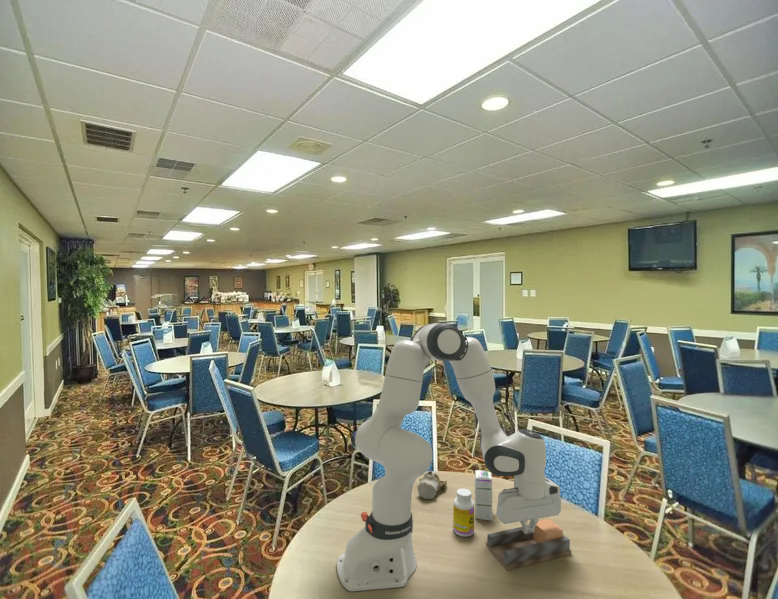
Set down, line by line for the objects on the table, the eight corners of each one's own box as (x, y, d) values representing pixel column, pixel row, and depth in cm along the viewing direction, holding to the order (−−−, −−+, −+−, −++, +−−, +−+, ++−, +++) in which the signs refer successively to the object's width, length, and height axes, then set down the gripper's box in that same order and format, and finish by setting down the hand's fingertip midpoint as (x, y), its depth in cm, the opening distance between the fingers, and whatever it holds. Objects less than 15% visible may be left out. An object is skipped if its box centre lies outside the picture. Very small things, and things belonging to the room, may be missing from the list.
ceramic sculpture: (411, 475, 144) (423, 461, 158) (410, 499, 144) (422, 483, 158) (439, 481, 140) (448, 466, 154) (438, 505, 140) (448, 488, 154)
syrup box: (492, 521, 131) (493, 478, 130) (474, 518, 132) (475, 476, 132) (491, 511, 136) (491, 470, 136) (474, 509, 138) (474, 469, 137)
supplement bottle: (470, 540, 121) (471, 499, 120) (450, 534, 124) (450, 494, 123) (476, 528, 126) (476, 489, 126) (456, 523, 130) (457, 485, 129)
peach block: (546, 550, 114) (546, 533, 114) (532, 537, 120) (532, 522, 120) (562, 546, 116) (562, 529, 116) (548, 534, 122) (548, 518, 122)
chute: (507, 570, 107) (507, 556, 107) (486, 545, 118) (486, 532, 118) (571, 554, 114) (571, 540, 114) (545, 532, 125) (545, 520, 125)
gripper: (504, 495, 109) (503, 544, 109) (565, 487, 115) (564, 533, 115) (492, 484, 115) (491, 531, 115) (550, 477, 121) (549, 521, 121)
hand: (528, 532), depth 115 cm, fingers closed
